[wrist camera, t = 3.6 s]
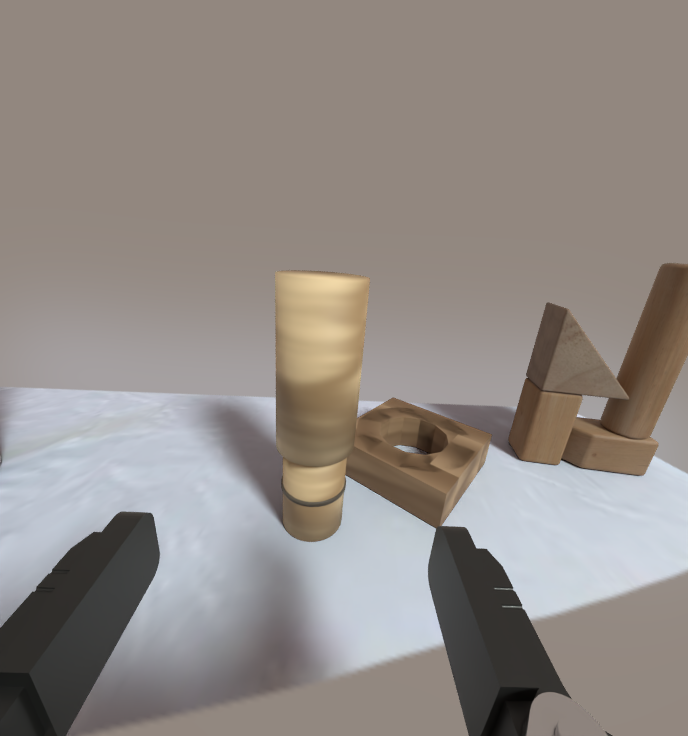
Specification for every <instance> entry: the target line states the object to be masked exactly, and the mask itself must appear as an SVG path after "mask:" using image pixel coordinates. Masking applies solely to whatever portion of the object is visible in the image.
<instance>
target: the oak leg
mask: <svg viewBox="0 0 688 736" xmlns="http://www.w3.org/2000/svg"><path fill="white" fill-rule="evenodd" d="M369 283H370V278H368V277H364V276H359V275H353V274H344V273H335V272H321V271H296V270H294V271H278V272H275V291H276V292H275V297H276V299H275V303H276V447H277V450H278V452H279V453H280V454H281V455H282V456H283V476H282V481H281V487H282V491H283V525H284V527H285V529H286V531H287V532H288V533H289V534H290V535H291V536H293V537H294V538H296V539H299V540H302V541H307V542H316V541H321V540H324V539H326V538H329V537H330V536H332V535H333V534H334V533H335V532H336V531H337V530H338V528H339V526H340V524H341V518H342V507H343V495H344V490H345V486H346V478H345V472H346V460H347V457H348V456H349V455H350V454H351V453H352V451H353V449H354V443H355V432H356V421H357V411H358V400H359V388H360V379H361V368H362V357H363V347H364V336H365V326H366V315H367V303H368V294H369Z"/></svg>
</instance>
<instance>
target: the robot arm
mask: <svg viewBox="0 0 688 736" xmlns="http://www.w3.org/2000/svg"><path fill="white" fill-rule="evenodd" d="M0 462H1V456H0ZM159 558H160V551H159V545H158V540H157V534H156V528H155V522H154V517H153V515H152V514H151V513H144V512H120V513H118V514H117V515H116V516H115V517H114V518H113V519H112V520H111V521H110V522H109V524H108V525H107V526H106V527H105V529H104V530H103V531H102V532H93V533H92V534H90V535H89V536H88V537H86V538H85V539H83V540H82V541H81V542H79V543H78V544H76V545H75V546H74V547H72V548H71V549H70V550H69V551H68V552H67V553H66V554H65V556H64V557H63V558H62V559H61V560H60V561H59V562H58V564H57V565H56V566H55V567H54V568H53V569H52V572H51V574H48V575H47V576H46V577H45V578H44V579H43V580H42V582H41V583H40V584H39V585H38V586H37V589H36V591H35V592H32V593H31V594H30V595H29V596H28V597H27V599H26V600H25V601H24V602H23V603H22V604H21V605H20V607H19V608H18V609H17V610H16V611H15V612H14V613H13V614H12V616H11V617H10V618H9V619H8V620H7V621H6V622H5V623H4V625H3V626H2V627H1V628H0V736H66V734H67V732H68V730H69V729H70V727H71V725H72V723H73V721H74V720H75V718H76V716H77V714H78V712H79V711H80V709H81V707H82V705H83V703H84V702H85V700H86V698H87V696H88V694H89V693H90V691H91V689H92V687H93V685H94V684H95V682H96V680H97V678H98V677H99V675H100V673H101V671H102V669H103V668H104V666H105V664H106V662H107V660H108V659H109V657H110V655H111V653H112V651H113V650H114V648H115V646H116V644H117V642H118V641H119V639H120V637H121V635H122V633H123V632H124V630H125V628H126V626H127V625H128V623H129V621H130V619H131V617H132V616H133V614H134V612H135V610H136V608H137V607H138V605H139V603H140V601H141V599H142V598H143V596H144V594H145V592H146V590H147V589H148V587H149V585H150V583H151V581H152V580H153V578H154V576H155V573H156V571H157V568H158V564H159ZM428 579H429V586H430V590H431V594H432V598H433V602H434V605H435V609H436V613H437V617H438V621H439V624H440V628H441V632H442V636H443V639H444V643H445V647H446V651H447V655H448V658H449V662H450V666H451V669H452V673H453V677H454V681H455V685H456V688H457V692H458V696H459V700H460V704H461V707H462V711H463V715H464V719H465V722H466V726H467V730H468V733H469V736H612V735H610V734H609V733H607V732H606V731H604V730H603V728H602V727H601V726H600V724H599V723H598V722H597V721H596V720H595V719H594V718H593V716H592V715H591V714H590V713H589V712H587V711H586V710H585V709H584V708H583V707H582V706H581V705H579V704H578V703H577V702H575V701H573V700H572V699H571V697H570V696H569V694H568V693H567V691H566V690H565V688H564V686H563V685H562V683H561V681H560V679H559V677H558V675H557V673H556V671H555V669H554V667H553V665H552V663H551V661H550V659H549V657H548V655H547V653H546V651H545V649H544V647H543V645H542V643H541V641H540V639H539V637H538V635H537V633H536V631H535V630H534V628H533V626H532V624H531V622H530V620H529V618H528V616H527V614H526V612H525V610H523V609H522V604H521V602H520V600H519V598H518V596H517V594H516V592H515V591H513V586H512V584H511V582H510V580H509V578H508V576H507V574H506V572H505V570H504V569H503V567H502V565H501V564H500V563H499V562H498V561H497V560H496V559H495V558H494V557H493V556H492V555H491V553H490V552H489V551H488V550H487V549H476V547H475V545H474V542H473V540H472V538H471V536H470V534H469V532H468V530H467V529H466V528H465V527H449V526H438V527H437V529H436V532H435V537H434V541H433V546H432V550H431V555H430V559H429V564H428Z"/></svg>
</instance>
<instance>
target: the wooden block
mask: <svg viewBox="0 0 688 736" xmlns="http://www.w3.org/2000/svg"><path fill="white" fill-rule="evenodd" d="M687 356H688V264H678V263H667V264H663V265H662V266H661V267H660V269H659V271H658V274H657V277H656V279H655V282H654V284H653V287H652V289H651V292H650V294H649V297H648V299H647V302H646V304H645V307H644V310H643V312H642V315H641V317H640V320H639V322H638V325H637V327H636V330H635V333H634V335H633V338H632V340H631V343H630V345H629V348H628V350H627V353H626V355H625V358H624V361H623V363H622V366H621V368H620V371H619V373H618V376H617V378H615V376H614V375H613V373H612V372H611V370H610V369H609V367H608V366H607V365H606V363H605V362H604V360H603V359H602V357H601V356H600V354H599V353H598V351H597V350H596V348H595V347H594V346H593V344H592V343H591V341H590V340H589V338H588V337H587V335H586V334H585V332H584V331H583V330H582V328H581V327H580V325H579V324H578V322H577V321H576V319H575V318H574V317H573V315H572V313H571V312H570V311H569V309H566V308H564V307H560V306H557V305H554V304H552V303H547V304H546V307H545V310H544V314H543V317H542V321H541V324H540V328H539V332H538V335H537V338H536V342H535V345H534V349H533V352H532V356H531V359H530V363H529V366H528V370H527V373H526V376H527V377H528V378H526V379H525V382H524V386H523V389H522V393H521V396H520V400H519V403H518V407H517V410H516V414H515V417H514V421H513V424H512V428H511V431H510V435H509V438H508V441H509V443H510V445H511V446H512V448H513V449H514V451H515V453H516V454H517V456H518V458H519V459H520V460H523V461H529V462H537V463H544V464H552V465H558V464H559V463H560V460H561V458H562V459H564V460H566V461H568V462H570V463H572V464H574V465H577V466H579V467H581V468H587V469H594V470H602V471H609V472H617V473H624V474H632V475H640V476H642V475H644V474H645V473H646V470H647V468H648V466H649V464H650V462H651V460H652V458H653V456H654V454H655V452H656V450H657V447H658V442H657V441H655V440H654V439H652V438H651V437H650V435H651V434H652V431H653V429H654V427H655V425H656V423H657V420H658V418H659V416H660V414H661V412H662V410H663V408H664V405H665V403H666V401H667V399H668V397H669V395H670V392H671V390H672V388H673V386H674V384H675V381H676V379H677V377H678V375H679V373H680V371H681V369H682V366H683V364H684V362H685V360H686V358H687ZM582 395H588V396H598V397H607V398H609V399H608V401H607V404H606V407H605V409H604V412H603V414H602V417H601V420H596V419H588V418H579V417H576V416H577V413H578V410H579V408H580V405H581V402H582Z"/></svg>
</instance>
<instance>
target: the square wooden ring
mask: <svg viewBox="0 0 688 736" xmlns="http://www.w3.org/2000/svg"><path fill="white" fill-rule="evenodd" d="M491 436H492V434H489V433H487V432H484V431H481V430H479V429H476V428H473V427H471V426H468V425H465V424H463V423H460V422H457V421H455V420H452V419H449V418H447V417H444V416H441V415H439V414H436V413H433V412H431V411H428V410H425V409H423V408H420V407H417V406H415V405H412V404H409V403H407V402H404V401H401V400H398V399H396V398H391V399H390V400H388V401H386V402H384V403H383V404H381V405H379V406H378V407H376V408H374V409H372V410H371V411H369V412H367V413H365V414H364V415H362V416H360V417H359V418H357V421H356V432H355V443H354V449H353V451H352V453H351V454H350V455H349V456H348V457H347V460H346V472H345V475H347V476H349V477H350V478H352V479H354V480H355V481H357V482H359V483H361V484H362V485H364V486H366V487H367V488H369V489H371V490H372V491H374V492H376V493H377V494H379V495H381V496H383V497H384V498H386V499H388V500H389V501H391V502H393V503H394V504H396V505H398V506H399V507H401V508H403V509H405V510H406V511H408V512H410V513H411V514H413V515H415V516H416V517H418V518H420V519H422V520H423V521H425V522H427V523H428V524H430V525H432V526H433V527H435V528H437V527H438V526H442V524H443V523H444V521H445V520H446V518H447V517H448V515H449V514H450V512H451V511H452V510H453V508H454V507H455V505H456V504H457V502H458V501H459V499H460V498H461V496H462V495H463V494H464V492H465V491H466V489H467V488H468V486H469V485H470V483H471V482H472V481H473V479H474V478H475V476H476V475H477V473H478V472H479V470H480V469H481V467H482V466H483V465H484V463H485V459H486V455H487V452H488V448H489V444H490V440H491ZM396 445H405V446H412V447H417V448H419V449H421V450H423V451H425V452H428V453H430V454H428V455H422V454H415V453H408V452H404V451H402V450H400V449H398V448H396V447H394V446H396Z"/></svg>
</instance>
